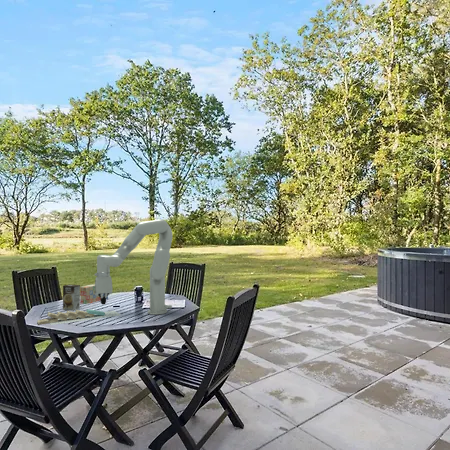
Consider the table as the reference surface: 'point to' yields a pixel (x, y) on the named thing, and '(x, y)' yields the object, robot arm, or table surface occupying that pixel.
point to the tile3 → (75, 314)
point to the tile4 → (66, 315)
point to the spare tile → (95, 312)
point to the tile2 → (84, 313)
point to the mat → (87, 317)
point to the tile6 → (47, 321)
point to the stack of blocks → (89, 294)
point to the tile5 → (56, 316)
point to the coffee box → (71, 297)
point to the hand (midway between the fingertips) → (103, 304)
